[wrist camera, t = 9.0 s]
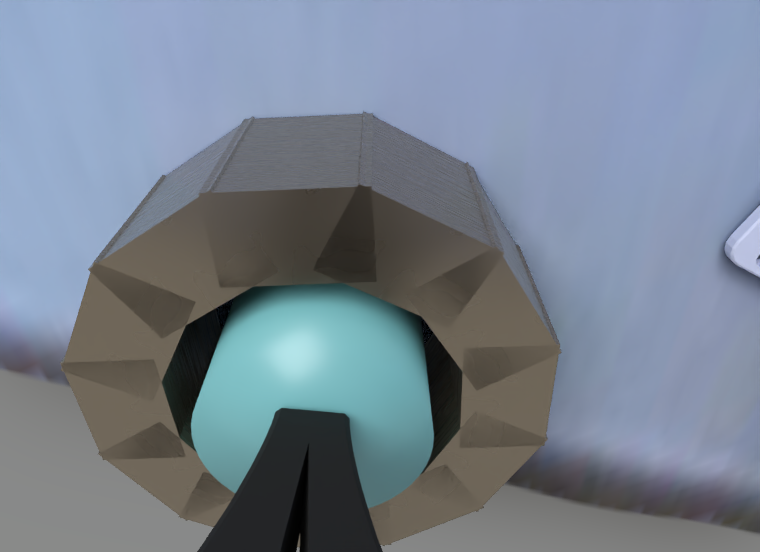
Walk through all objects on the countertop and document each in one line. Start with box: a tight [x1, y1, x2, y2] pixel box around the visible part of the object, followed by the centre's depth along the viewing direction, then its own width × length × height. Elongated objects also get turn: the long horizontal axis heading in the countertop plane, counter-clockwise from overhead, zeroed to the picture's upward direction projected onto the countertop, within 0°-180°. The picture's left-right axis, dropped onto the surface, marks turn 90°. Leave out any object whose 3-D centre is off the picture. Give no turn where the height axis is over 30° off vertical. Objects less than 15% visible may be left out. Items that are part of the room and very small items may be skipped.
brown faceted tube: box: [60, 112, 561, 547], centre depth 14 cm, size 10×10×4 cm
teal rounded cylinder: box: [191, 283, 434, 508], centre depth 14 cm, size 5×5×5 cm
